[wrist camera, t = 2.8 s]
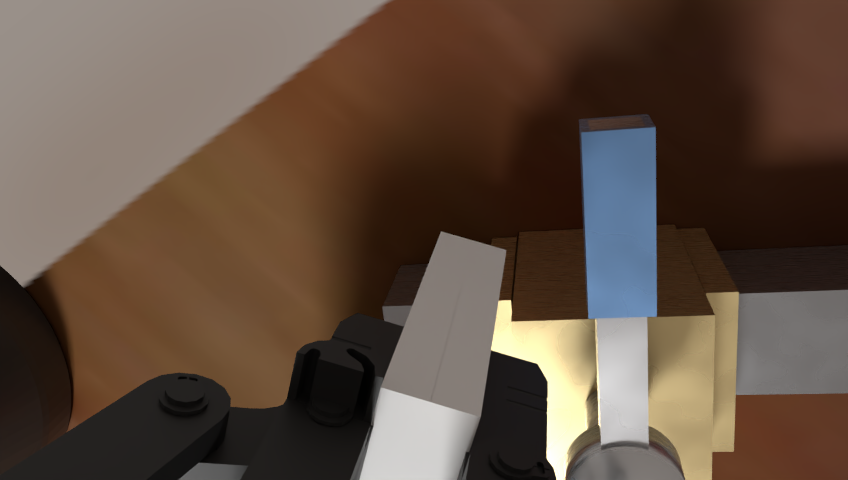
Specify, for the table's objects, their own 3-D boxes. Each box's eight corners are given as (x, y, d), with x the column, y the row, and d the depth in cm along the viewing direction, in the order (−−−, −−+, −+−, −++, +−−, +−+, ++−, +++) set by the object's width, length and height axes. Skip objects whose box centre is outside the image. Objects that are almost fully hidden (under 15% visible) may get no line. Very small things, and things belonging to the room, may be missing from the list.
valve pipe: (414, 374, 35) (361, 550, 25) (397, 238, 33) (331, 371, 23) (909, 364, 31) (1079, 563, 21) (927, 211, 29) (1125, 354, 19)
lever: (566, 514, 23) (567, 549, 22) (544, 121, 19) (544, 135, 18) (681, 516, 22) (689, 551, 21) (683, 111, 18) (693, 124, 17)
